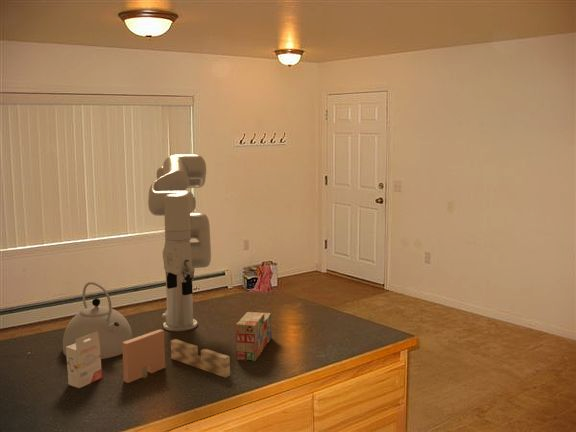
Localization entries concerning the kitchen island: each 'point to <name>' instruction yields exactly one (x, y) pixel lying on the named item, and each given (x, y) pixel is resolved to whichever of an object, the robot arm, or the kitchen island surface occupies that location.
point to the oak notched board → (200, 358)
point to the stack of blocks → (252, 335)
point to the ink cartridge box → (84, 360)
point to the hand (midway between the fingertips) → (179, 291)
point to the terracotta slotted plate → (143, 355)
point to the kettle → (99, 326)
